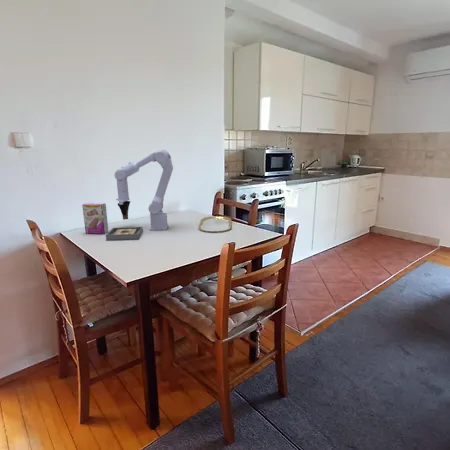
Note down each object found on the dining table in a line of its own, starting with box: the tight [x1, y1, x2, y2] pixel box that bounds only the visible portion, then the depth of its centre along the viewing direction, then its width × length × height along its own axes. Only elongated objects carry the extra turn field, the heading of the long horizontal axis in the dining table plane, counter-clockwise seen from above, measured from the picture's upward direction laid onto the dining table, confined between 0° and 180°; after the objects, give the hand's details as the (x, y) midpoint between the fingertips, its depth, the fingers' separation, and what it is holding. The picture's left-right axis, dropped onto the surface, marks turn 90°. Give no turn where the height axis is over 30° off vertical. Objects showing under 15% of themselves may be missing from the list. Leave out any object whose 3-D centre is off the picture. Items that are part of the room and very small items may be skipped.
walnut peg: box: [122, 209, 129, 220], centre depth 185 cm, size 3×3×8 cm
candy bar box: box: [81, 202, 109, 235], centre depth 177 cm, size 11×5×16 cm, turn 84°
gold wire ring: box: [197, 215, 232, 234], centre depth 194 cm, size 19×35×2 cm, turn 179°
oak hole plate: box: [114, 229, 137, 234], centre depth 172 cm, size 10×10×2 cm
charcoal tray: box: [105, 226, 144, 242], centre depth 172 cm, size 16×14×3 cm
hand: (125, 214), depth 186 cm, fingers closed on walnut peg, 3 cm apart
